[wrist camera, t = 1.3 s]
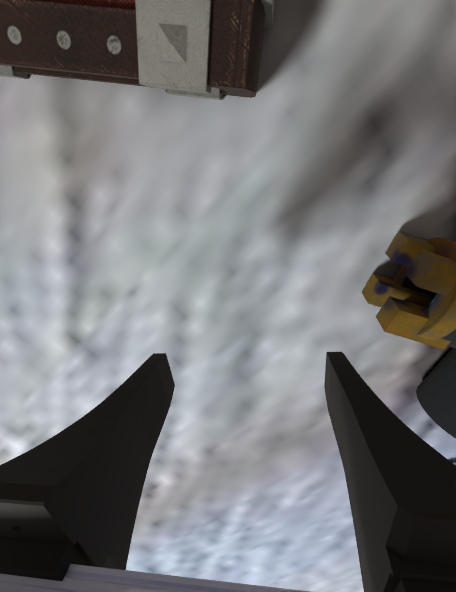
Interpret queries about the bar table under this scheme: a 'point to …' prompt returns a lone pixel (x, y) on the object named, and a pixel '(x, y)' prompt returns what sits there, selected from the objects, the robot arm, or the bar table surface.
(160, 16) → the book
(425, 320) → the pipe connector
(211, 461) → the bar table surface
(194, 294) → the bar table surface
